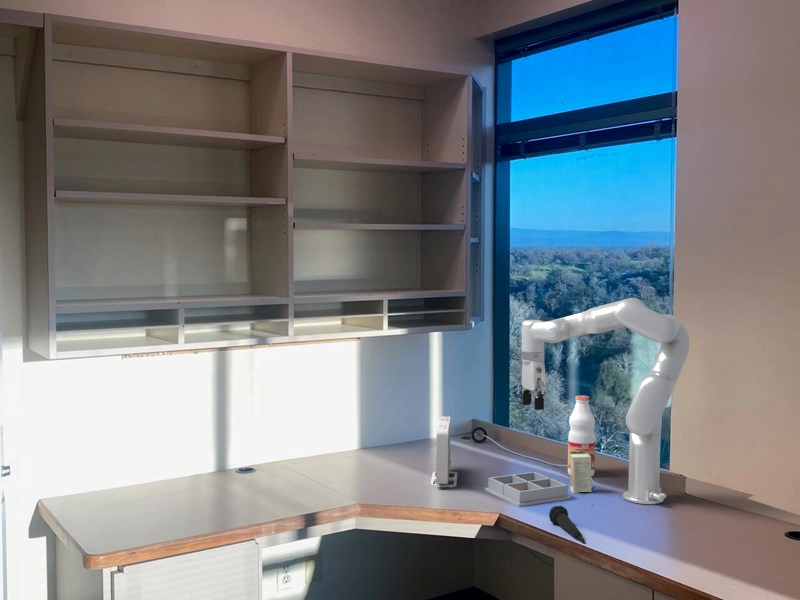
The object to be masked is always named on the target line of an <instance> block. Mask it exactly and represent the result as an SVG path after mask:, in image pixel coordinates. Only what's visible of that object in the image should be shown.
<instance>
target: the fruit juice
mask: <svg viewBox="0 0 800 600" xmlns="http://www.w3.org/2000/svg"><path fill="white" fill-rule="evenodd" d="M574 399H575V404H574V408H573V410H572V413H571V414H570V416H569V418H568V424H569V431H568V435H567V436H568V438H567V439H568V441H567V473H568V475H570V454H589V455H590V456H591V477H594V476H595V469H596V467H595V466H596V461H595V460H596V432H595V431H594V428H595V426H596V425H595V424H596V419H595V416H594V414H593V413H592V410H591V406H590V404H589V403H590V396H588V395H576V396H575V398H574Z"/></svg>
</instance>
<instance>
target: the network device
mask: <svg viewBox="0 0 800 600" xmlns="http://www.w3.org/2000/svg"><path fill="white" fill-rule="evenodd" d="M451 423H452V421H451V416H443V415H442V416H440V417H439V420H438V424H437V428H436V465H435V466H436V471H433V472H432V474H431V480H430V486H431V485H433V486H440V487H439V488H446V487H450V488H454V486H455V487H457V482H458V481H457V480H458V472H455V471H451V470H450V469H451V463H452V459H451V439H452V438H451V436H452V435H451V431H452V430H451V426H452V424H451ZM449 473H450V474H449ZM454 474H455V475H454ZM450 475H453V477H452V476H451V477H450ZM434 480H436V481H434ZM452 481H454V482H453V484H449V482H452ZM435 482H436V483H435ZM433 483H434V484H433ZM433 486H432V487H433Z"/></svg>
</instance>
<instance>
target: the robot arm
mask: <svg viewBox="0 0 800 600" xmlns="http://www.w3.org/2000/svg"><path fill="white" fill-rule="evenodd" d="M621 328H628V329H629V330H631V331H633V332H634V333H637V334H639V335H641V336H643V337H644V338H647V339H648V340H651V341H652V342H655V343H658V344H660V347H659V351H658V353H657V355H656V356H655V359H654V361H653V363H652V366H651V368H650V371H649V372H648V373H647V375H645V377H644V378H643V379H642V381H641V382H640V383H639V386H638V388H637V390H636V393H635V394H634V398H633V399H632V401H631V404H630V407H629V408H628V411H627V413H626V417H625V423H626V428H627V429H628V430H629V441H628V442H629V443H628V444H629V445H628V446H629V450H628V487H627V488H628V489H627V491H624V492H623V495H622V497H623V499H624V500H626V501H628V502H631V503H635V504H641V505H656V504H661V503H663V502H665V499H666V498H667V494H666V493H663V492H662V487H660V475H661V473H660V468H661V467H660V465H661V461H660V460H661V437H662V436H661V435H662V424H663V422H662V421H663V419H662V418H663V417H662V416H663V413H664V411H665V408H666V406H667V405H668V402H669V401H670V398H671V396H672V395H673V393H674V390H675V387H676V384H677V381H678V380H679V377H680V375H681V373H682V370H683V367H684V365H685V363H686V361H687V358H688V353H689V349H690V336H689V333H688V331H687V329H686V327H685V325H684V324H683V322H682V321H681V320H680V319H678V317H676V316H675V315H673V314H668V313H666V314H662V313H659V312H657V311H655V310H653V309H651V308H649V307H647V306H645V303H644V302H643V300H640V299H639V298H636V297H629V298H624V299H621V300H617V301H614V302H610V303H606V304H603V305H602V304H601V305H598V306H594V307H591V308H589V309H587V310H585V311H581V312H579V313H575V314H571V315H568V316H567V315H566V316H564V317H560V318H556V319H552V320H547V321H543V320H541V319H525V320H523V321H522V323H521V361H522V365H521V366H522V367H521V378H520V382H521V393H522V395H521V397H522V398H521V399H522V403H521V404H522V405H523V406H530V405H532V392H533V393H534V396H535V397H534V398H533V399H534V400H533V401H534V402H533V403H534V405H533V406H534V408H533V409H534V410H535V411H543V410H544V409H545V398H546V397H545V396H546V395H545V394H546V390H547V380H546V379H547V378H546V366H545V343H549V344H557V343H560V342H562V341H565V340H568V339H569V340H570V339H573V338H578V337H579V336H580V337H581V336H585V335H589V334H590V335H591V334H596V335H597V334H601V333H606V332H609V331H614V330H617V329H621Z"/></svg>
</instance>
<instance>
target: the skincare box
mask: <svg viewBox="0 0 800 600" xmlns="http://www.w3.org/2000/svg"><path fill="white" fill-rule="evenodd" d="M569 481H570V482H569V487H570V488H569V489H570V491H571V493H573V494H580V493H579V492H591V493H592V476H591V456H590V455H589V454H570V474H569Z"/></svg>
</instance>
